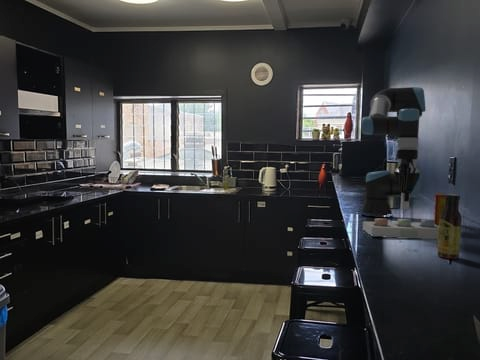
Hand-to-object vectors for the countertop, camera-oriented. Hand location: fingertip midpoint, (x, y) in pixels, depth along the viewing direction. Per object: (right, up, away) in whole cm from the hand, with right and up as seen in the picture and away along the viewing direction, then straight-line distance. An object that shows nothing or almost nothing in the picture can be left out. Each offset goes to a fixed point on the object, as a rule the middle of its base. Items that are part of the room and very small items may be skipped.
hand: (404, 209), depth 172 cm
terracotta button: (-9, -7, +1) cm, 11 cm away
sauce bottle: (+1, -13, -35) cm, 37 cm away
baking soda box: (+20, -10, +12) cm, 26 cm away
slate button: (+9, -7, 0) cm, 11 cm away
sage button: (0, -7, 0) cm, 7 cm away
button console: (0, -10, +2) cm, 11 cm away
